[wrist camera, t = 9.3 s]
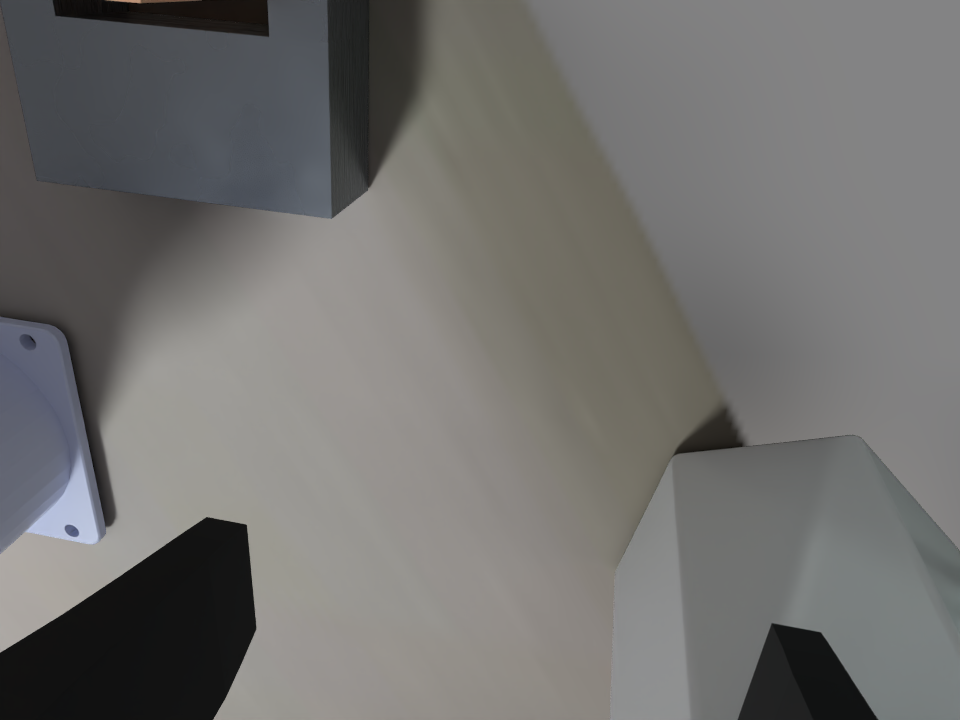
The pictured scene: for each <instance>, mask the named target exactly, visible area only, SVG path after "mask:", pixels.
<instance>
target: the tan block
mask: <svg viewBox="0 0 960 720" xmlns="http://www.w3.org/2000/svg"><path fill="white" fill-rule="evenodd" d="M110 1H121V2H132V3H157V2H179V1H200V0H110Z"/></svg>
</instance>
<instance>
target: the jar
mask: <svg viewBox="0 0 960 720" xmlns="http://www.w3.org/2000/svg"><path fill="white" fill-rule="evenodd" d="M771 623H774V624H780V625H785V626H790V627H796V628H801V629H806V630H812V631H817V632H821V633H822V634H823V636H824V637H825V639H826V640H827V641H828V643H829V645H830V646H831V648H832V649H833V651H834V652H835V654H836V655H837V657H838V658H839V660H840V661H841V663H842V665H843V666H844V668H845V669H846V671H847V672H848V674H849V675H850V677H851V679H852V680H853V682H854V683H855V685H856V686H857V688H858V689H859V691H860V693H861V694H862V696H863V697H864V699H865V700H866V702H867V703H868V705H869V706H870V708H871V709H872V711H873V712H874V714H875V715H876V717H877V718H878V720H960V551H959V550H958V548H957V547H956V546H955V545H954V543H952V541H951V540H950V539H949V538H948V537H947V535H946V534H945V533H944V532H943V531H942V530H941V529H940V527H939V526H938V525H937V524H936V523H935V522H934V521H933V519H932V518H931V517H930V516H929V515H928V514H927V513H926V511H925V510H924V509H923V508H922V507H921V506H920V504H918V502H917V501H916V500H915V499H914V498H913V497H912V495H911V494H910V493H909V492H908V491H907V490H906V488H905V487H904V486H903V485H902V484H901V483H900V482H899V481H898V479H897V478H896V477H895V476H894V475H893V474H892V472H891V471H890V470H889V469H888V468H887V467H886V466H885V464H884V463H883V462H882V461H881V460H880V459H879V457H878V456H877V455H876V454H875V453H874V452H873V451H872V449H871V448H870V447H869V446H868V445H867V444H866V443H865V441H864V440H863V439H862V438H860V437H858V436H855V435H845V436H837V437H828V438H819V439H811V440H802V441H793V442H784V443H774V444H766V445H755V446H746V447H737V448H728V449H719V450H709V451H699V452H689V453H680V454H677V455H674V456H673V457H672V458H671V460H670V462H669V464H668V466H667V468H666V470H665V472H664V474H663V476H662V478H661V480H660V482H659V484H658V486H657V488H656V490H655V492H654V494H653V496H652V498H651V500H650V502H649V504H648V506H647V508H646V510H645V512H644V514H643V516H642V518H641V520H640V522H639V525H638V527H637V529H636V531H635V533H634V535H633V537H632V539H631V541H630V543H629V545H628V547H627V549H626V551H625V553H624V555H623V557H622V559H621V561H620V563H619V565H618V567H617V569H616V571H615V585H614V614H613V644H612V673H611V702H610V720H738V717H739V714H740V711H741V708H742V705H743V703H744V700H745V697H746V694H747V691H748V688H749V686H750V683H751V680H752V677H753V674H754V672H755V669H756V666H757V663H758V660H759V657H760V655H761V652H762V649H763V646H764V643H765V640H766V638H767V635H768V632H769V629H770V626H771Z"/></svg>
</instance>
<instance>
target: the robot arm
mask: <svg viewBox="0 0 960 720" xmlns="http://www.w3.org/2000/svg"><path fill="white" fill-rule="evenodd" d="M30 336H31V337H32V338H33V339H34V340H35V342H36V343H34V342H33V341H32V340H31V338H30ZM24 532H30V533H35V534H40V535H45V536H50V537H55V538H60V539H65V540H70V541H75V542H80V543H86V544H96V543H98V542H99V541H100V540H101V539H102V538H103V537H104V536H105V534H106V527H105V522H104V517H103V513H102V508H101V503H100V498H99V493H98V488H97V483H96V479H95V474H94V469H93V464H92V459H91V454H90V449H89V445H88V440H87V435H86V430H85V425H84V420H83V416H82V411H81V406H80V401H79V396H78V391H77V386H76V382H75V377H74V372H73V367H72V362H71V357H70V353H69V348H68V343H67V340H66V338H65V336H64V334H63V333H62V332H61V331H60V330H59V329H57V328H56V327H55V326H52V325H49V324H43V323H37V322H30V321H24V320H17V319H11V318H5V317H0V554H1V553H2V552H3V551H4V550H6V549H7V548H8V547H9V546H10V545H11V544H12V543H13V542H14V541H15V540H17V539H18V538H19V537H20V536H21V535H22V534H23V533H24ZM255 631H256V619H255V608H254V597H253V587H252V576H251V565H250V555H249V544H248V533H247V525H246V524H240V523H235V522H230V521H224V520H219V519H214V518H208V517H206V518H205V519H203V520H202V521H200V522H199V523H197V524H196V525H194V526H193V527H191V528H190V529H188V530H187V531H185V532H184V533H182V534H181V535H179V536H178V537H176V538H175V539H173V540H172V541H171V542H169V543H168V544H166V545H165V546H163V547H162V548H160V549H159V550H158V551H156V552H155V553H153V554H152V555H150V556H149V557H147V558H146V559H144V560H143V561H142V562H140V563H139V564H137V565H136V566H134V567H133V568H131V569H130V570H128V571H127V572H125V573H124V574H123V575H121V576H120V577H118V578H117V579H115V580H114V581H112V582H111V583H109V584H108V585H106V586H105V587H103V588H102V589H100V590H99V591H97V592H96V593H94V594H93V595H91V596H90V597H88V598H87V599H85V600H84V601H82V602H81V603H79V604H78V605H76V606H75V607H73V608H72V609H70V610H69V611H67V612H66V613H64V614H62V615H61V616H59V617H58V618H56V619H54V620H53V621H51V622H50V623H48V624H46V625H45V626H43V627H41V628H40V629H38V630H37V631H35V632H33V633H32V634H30V635H28V636H27V637H25V638H24V639H22V640H20V641H19V642H17V643H15V644H14V645H12V646H11V647H9V648H7V649H6V650H4V651H2V652H1V653H0V720H213V719H214V717H215V715H216V714H217V712H218V710H219V708H220V707H221V705H222V703H223V701H224V700H225V698H226V696H227V694H228V692H229V689H230V687H231V685H232V683H233V681H234V679H235V677H236V674H237V672H238V670H239V668H240V666H241V663H242V661H243V659H244V656H245V654H246V652H247V649H248V647H249V645H250V643H251V640H252V638H253V636H254V633H255ZM738 720H878V718H877V717H876V715H875V714H874V712H873V711H872V709H871V708H870V706H869V705H868V703H867V702H866V700H865V699H864V697H863V696H862V694H861V693H860V691H859V689H858V688H857V686H856V685H855V683H854V682H853V680H852V679H851V677H850V675H849V674H848V672H847V671H846V669H845V668H844V666H843V665H842V663H841V661H840V660H839V658H838V657H837V655H836V654H835V652H834V651H833V649H832V648H831V646H830V645H829V643H828V641H827V640H826V639H825V637H824V636H823V634H822V633H821V632H817V631H812V630H806V629H801V628H796V627H790V626H785V625H780V624H774V623H771V626H770V629H769V632H768V635H767V638H766V640H765V643H764V646H763V649H762V652H761V655H760V657H759V660H758V663H757V666H756V669H755V672H754V674H753V677H752V680H751V683H750V686H749V688H748V691H747V694H746V697H745V700H744V703H743V705H742V708H741V711H740V714H739V717H738Z"/></svg>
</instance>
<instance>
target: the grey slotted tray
mask: <svg viewBox="0 0 960 720" xmlns="http://www.w3.org/2000/svg"><path fill="white" fill-rule="evenodd" d="M0 3H1V8H2V13H3V18H4V23H5V28H6V32H7V37H8V42H9V47H10V52H11V57H12V62H13V67H14V72H15V76H16V81H17V86H18V91H19V96H20V101H21V106H22V111H23V116H24V120H25V125H26V130H27V135H28V140H29V145H30V150H31V155H32V160H33V164H34V169H35V174H36V179H37V181H44V182H52V183H59V184H67V185H75V186H82V187H90V188H98V189H106V190H113V191H121V192H129V193H137V194H144V195H152V196H160V197H167V198H175V199H183V200H191V201H198V202H206V203H214V204H222V205H229V206H237V207H245V208H252V209H260V210H268V211H276V212H283V213H291V214H299V215H306V216H314V217H322V218H330V219H332V218H333V217H335V216H336V215H337V214H338V213H340V212H341V211H342V210H343V209H345V208H346V207H347V206H349V205H350V204H351V203H352V202H354V201H355V200H356V199H357V198H359V197H360V196H361V195H363V194H364V193H365V192H366V191H368V61H369V0H267V3H268V21H269V25H264V24H254V23H243V22H233V21H222V20H212V19H202V18H191V17H181V16H170V15H160V14H149V13H139V12H128V4H127V2H121V1H110V0H0Z"/></svg>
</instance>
